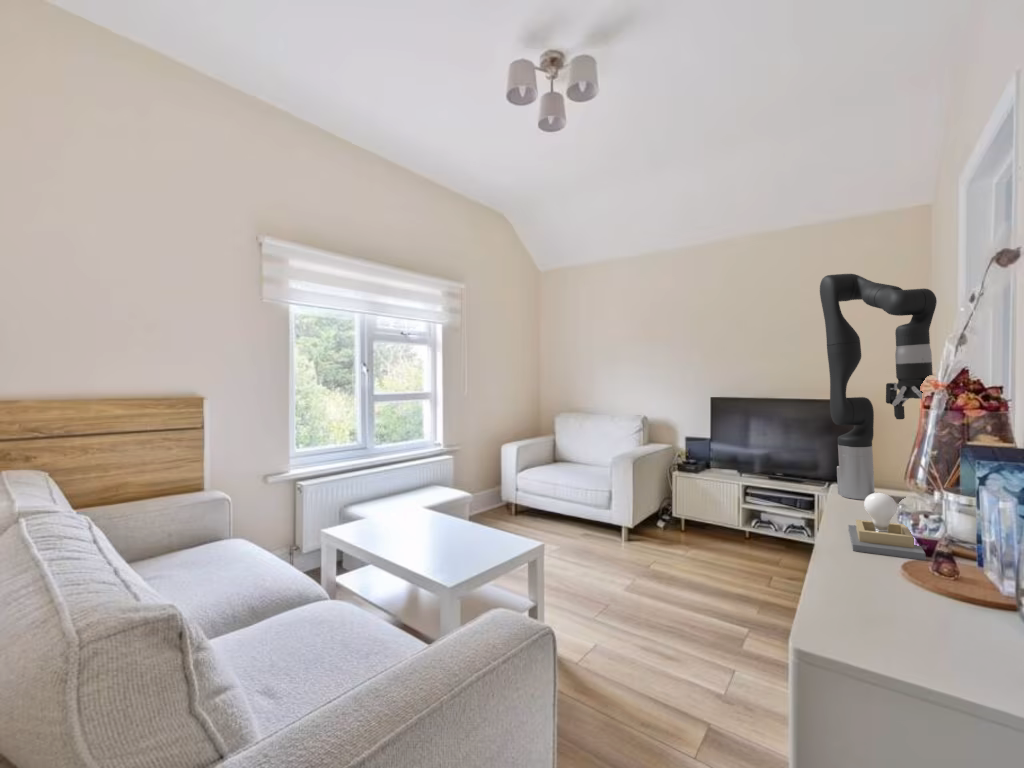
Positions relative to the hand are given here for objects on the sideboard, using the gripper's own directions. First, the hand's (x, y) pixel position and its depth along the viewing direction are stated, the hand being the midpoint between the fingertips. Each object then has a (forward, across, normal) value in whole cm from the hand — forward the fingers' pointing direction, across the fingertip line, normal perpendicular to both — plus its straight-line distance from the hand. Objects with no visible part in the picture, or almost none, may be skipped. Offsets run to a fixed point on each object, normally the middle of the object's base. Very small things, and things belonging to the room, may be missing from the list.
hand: (916, 420), depth 125 cm
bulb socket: (+28, -9, +24) cm, 38 cm away
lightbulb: (+27, -9, +24) cm, 37 cm away
